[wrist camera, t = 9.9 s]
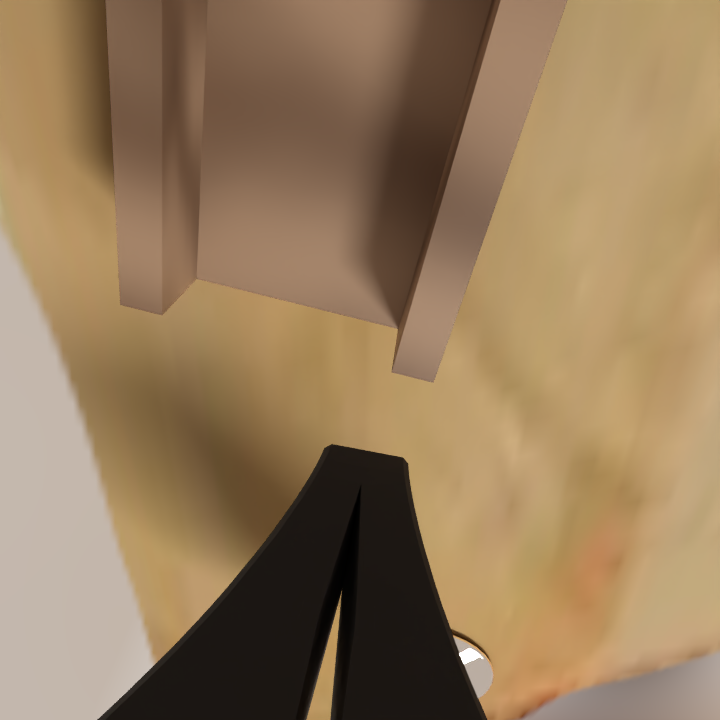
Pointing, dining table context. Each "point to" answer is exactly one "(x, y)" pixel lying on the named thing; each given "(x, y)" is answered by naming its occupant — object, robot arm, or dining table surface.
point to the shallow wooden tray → (319, 150)
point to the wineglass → (476, 666)
